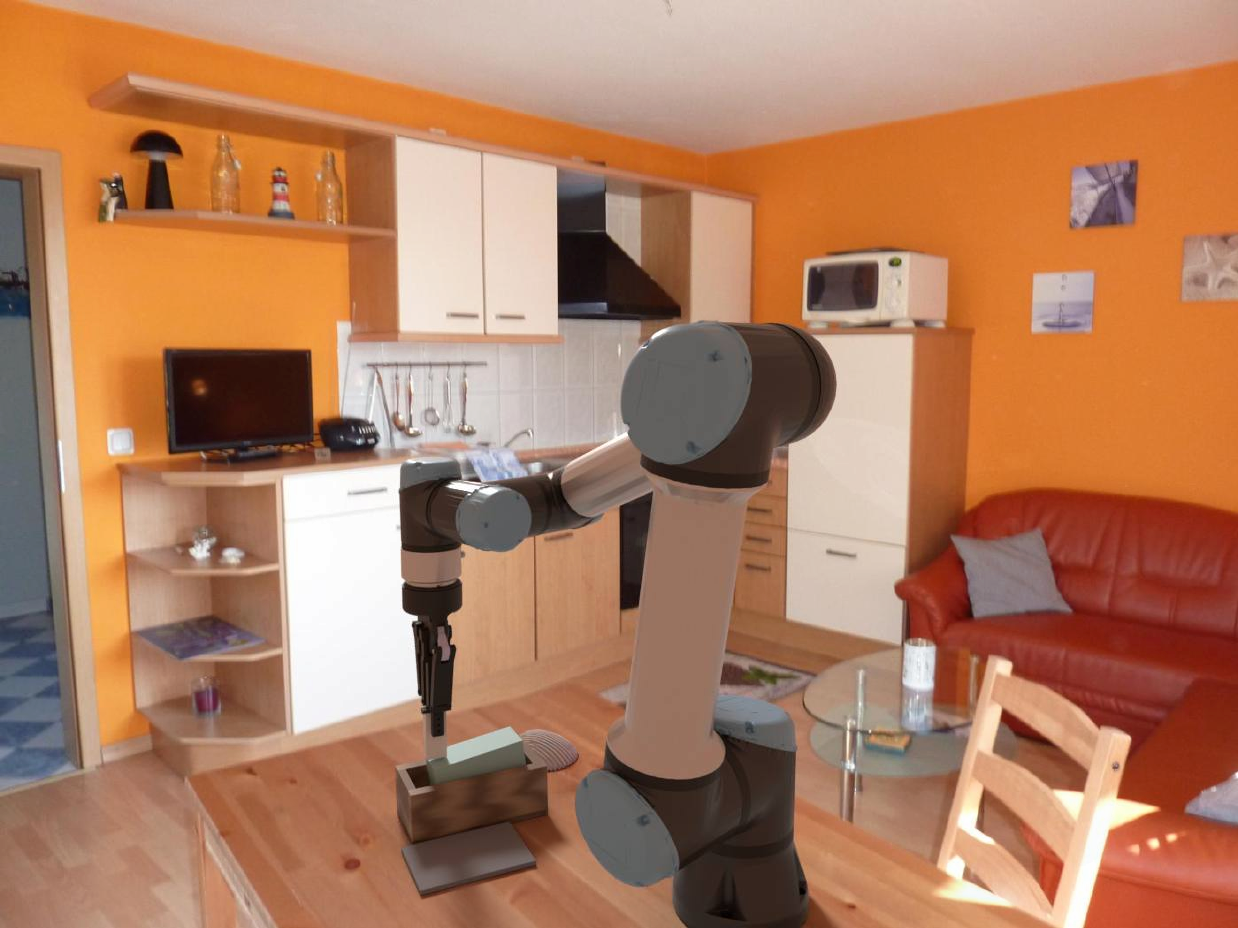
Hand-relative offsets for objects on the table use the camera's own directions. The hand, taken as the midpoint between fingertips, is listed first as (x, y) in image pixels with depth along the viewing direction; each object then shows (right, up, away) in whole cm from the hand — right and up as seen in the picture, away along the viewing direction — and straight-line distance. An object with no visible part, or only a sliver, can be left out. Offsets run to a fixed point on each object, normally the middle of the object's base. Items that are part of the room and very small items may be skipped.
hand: (435, 755), depth 120 cm
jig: (+5, -9, +3) cm, 11 cm away
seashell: (+13, -7, +20) cm, 25 cm away
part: (+5, -4, +3) cm, 7 cm away
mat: (+5, -10, -7) cm, 14 cm away
